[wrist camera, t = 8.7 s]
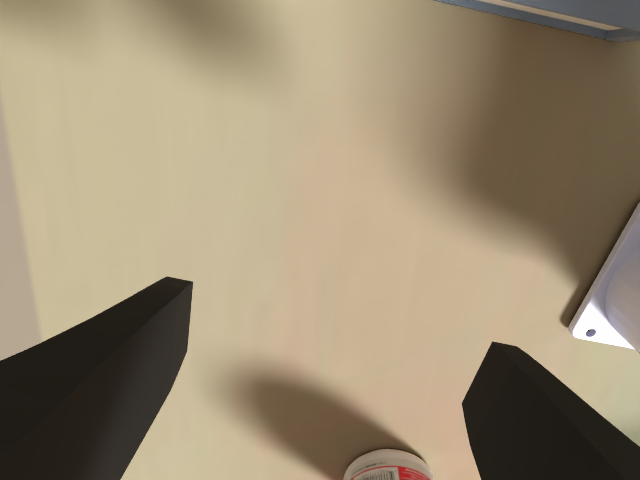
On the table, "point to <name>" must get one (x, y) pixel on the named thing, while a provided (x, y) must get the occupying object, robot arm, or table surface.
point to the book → (570, 15)
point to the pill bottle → (388, 466)
